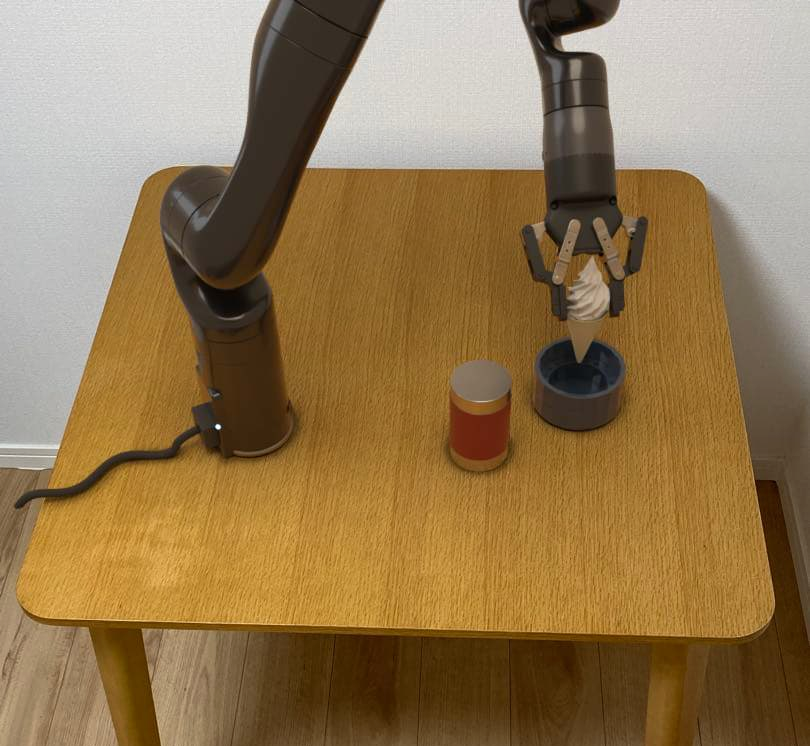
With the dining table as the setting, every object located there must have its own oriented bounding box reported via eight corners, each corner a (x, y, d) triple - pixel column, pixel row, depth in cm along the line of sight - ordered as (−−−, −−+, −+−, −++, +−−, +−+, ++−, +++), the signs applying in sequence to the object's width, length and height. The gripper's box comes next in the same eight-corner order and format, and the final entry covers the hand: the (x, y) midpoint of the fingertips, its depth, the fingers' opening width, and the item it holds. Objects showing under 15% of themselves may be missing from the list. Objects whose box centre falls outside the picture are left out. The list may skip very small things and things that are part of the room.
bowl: (559, 443, 136) (563, 409, 132) (516, 387, 142) (518, 352, 138) (637, 414, 139) (643, 380, 134) (591, 360, 145) (595, 325, 140)
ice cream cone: (599, 379, 134) (613, 272, 122) (554, 374, 135) (564, 268, 123) (603, 349, 137) (617, 242, 125) (559, 344, 138) (569, 238, 126)
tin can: (466, 480, 133) (467, 410, 124) (439, 441, 137) (438, 370, 128) (518, 460, 135) (523, 389, 126) (491, 422, 139) (493, 351, 130)
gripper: (517, 155, 122) (528, 321, 124) (654, 145, 123) (663, 310, 125) (507, 170, 130) (518, 326, 132) (636, 160, 131) (645, 316, 132)
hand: (588, 318), depth 128 cm, fingers closed on ice cream cone, 5 cm apart
